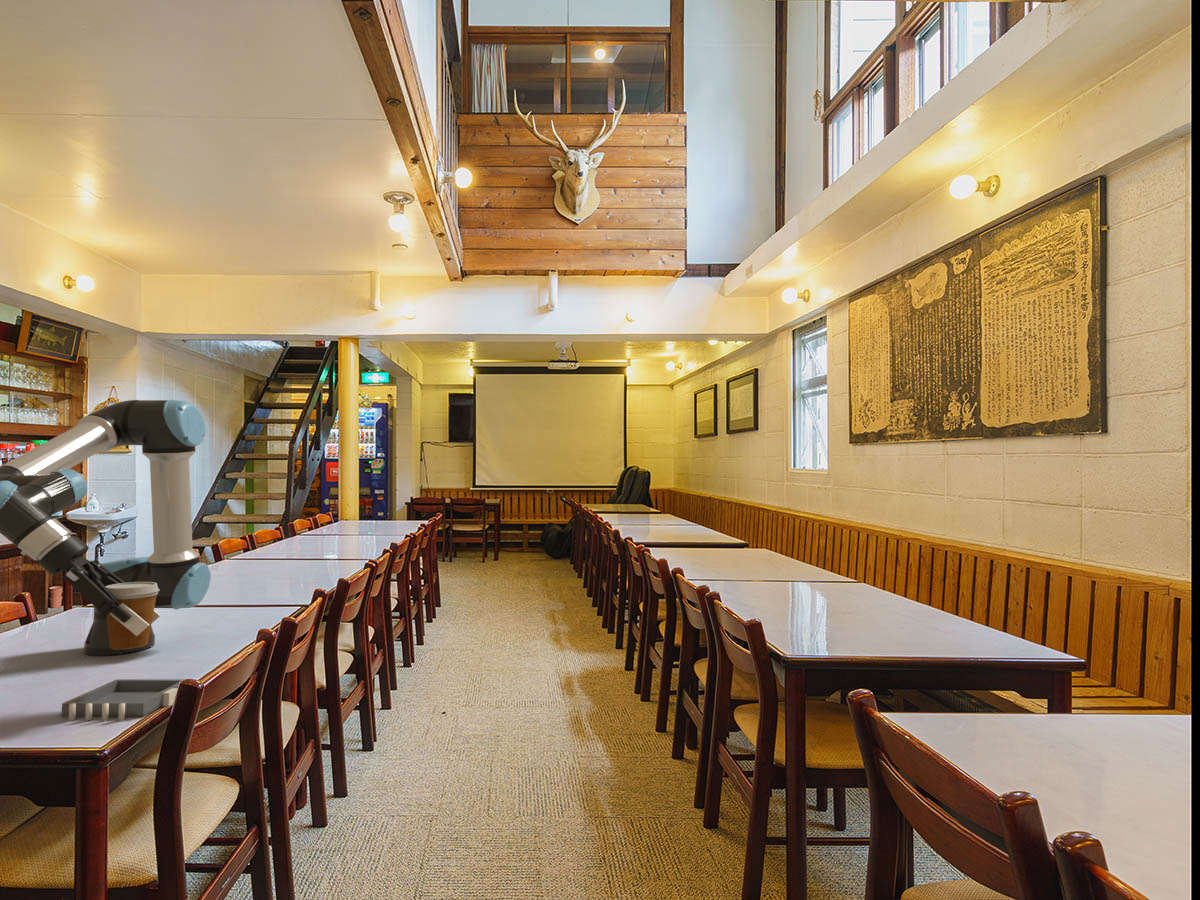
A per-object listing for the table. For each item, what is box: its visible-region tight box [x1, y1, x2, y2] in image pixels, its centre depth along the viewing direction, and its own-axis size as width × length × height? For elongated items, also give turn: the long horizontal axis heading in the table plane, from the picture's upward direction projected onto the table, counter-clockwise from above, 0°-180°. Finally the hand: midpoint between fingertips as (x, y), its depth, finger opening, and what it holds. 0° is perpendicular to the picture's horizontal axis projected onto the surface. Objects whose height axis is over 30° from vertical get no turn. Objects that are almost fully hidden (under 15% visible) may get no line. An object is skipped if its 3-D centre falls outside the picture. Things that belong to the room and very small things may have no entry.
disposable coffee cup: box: [105, 582, 160, 649], centre depth 136 cm, size 10×10×12 cm
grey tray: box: [61, 678, 186, 722], centre depth 135 cm, size 17×16×3 cm
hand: (149, 625), depth 137 cm, fingers closed on disposable coffee cup, 9 cm apart
